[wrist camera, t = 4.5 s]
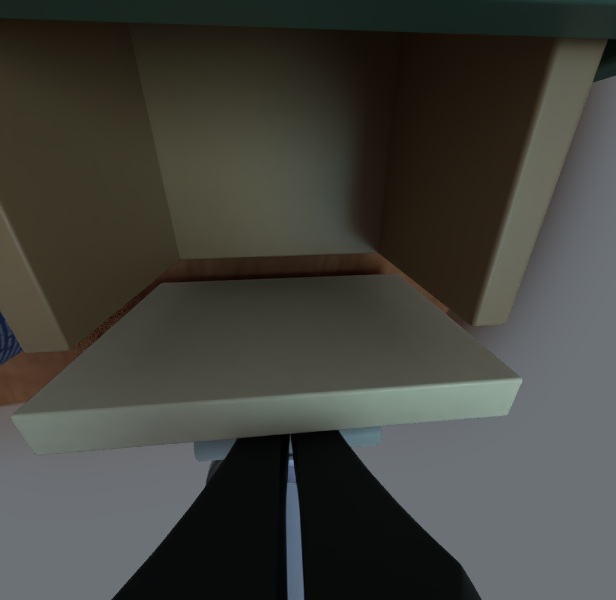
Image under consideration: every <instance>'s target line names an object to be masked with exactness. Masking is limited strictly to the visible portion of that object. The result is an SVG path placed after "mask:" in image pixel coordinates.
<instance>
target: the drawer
mask: <svg viewBox="0 0 616 600" xmlns="http://www.w3.org/2000/svg"><path fill="white" fill-rule="evenodd" d="M607 40H608V39H598V38H569V37H539V36H510V35H481V34H452V33H422V32H393V31H364V30H335V29H305V28H276V27H247V26H218V25H188V24H159V23H130V22H101V21H71V20H42V19H13V18H0V311H1V313H2V314H3V316H4V318H5V320H6V321H7V323H8V325H9V327H10V328H11V330H12V332H13V334H14V335H15V337H16V339H17V341H18V343H19V344H20V346H21V348H22V350H23V351H24V352H25V353H39V352H56V351H68V350H70V349H72V348H73V347H74V346H75V345H77V344H78V343H79V342H80V341H81V340H83V339H84V338H85V337H86V336H88V335H89V334H90V333H91V332H92V331H94V330H95V329H96V328H97V327H99V326H100V325H101V324H102V323H103V322H105V321H106V320H107V319H108V318H110V317H111V316H112V315H113V314H114V313H116V312H117V311H118V310H119V309H121V308H122V307H123V306H124V305H125V304H127V303H128V302H129V301H130V300H132V299H133V298H134V297H135V296H136V295H138V294H139V293H140V292H141V291H143V290H144V289H145V288H146V287H147V286H149V285H150V284H151V283H152V282H153V281H155V280H156V279H157V278H158V277H160V276H161V275H162V274H163V273H164V272H166V271H167V270H168V269H169V268H171V267H172V266H173V265H174V264H175V263H177V262H178V261H179V260H182V259H213V258H243V257H273V256H304V255H334V254H365V253H379V254H381V255H382V256H383V257H384V258H386V259H387V260H388V261H390V262H391V263H392V264H393V265H395V266H396V267H397V268H398V269H400V270H401V271H402V272H403V273H405V274H406V275H407V276H409V277H410V278H411V279H412V280H414V281H415V282H416V283H417V284H419V285H420V286H421V287H422V288H424V289H425V290H426V291H428V292H429V293H430V294H431V295H433V296H434V297H435V298H436V299H438V300H439V301H440V302H441V303H443V304H444V305H445V306H447V307H448V308H449V309H450V310H452V311H453V312H454V313H455V314H457V315H458V316H459V317H461V318H462V319H463V320H464V321H466V322H467V323H468V324H470V325H471V326H474V327H480V326H497V325H504V324H506V322H507V320H508V317H509V314H510V311H511V309H512V306H513V303H514V300H515V297H516V295H517V292H518V289H519V286H520V284H521V281H522V278H523V275H524V272H525V269H526V267H527V264H528V261H529V258H530V256H531V253H532V250H533V247H534V245H535V242H536V239H537V236H538V233H539V230H540V228H541V225H542V222H543V219H544V216H545V214H546V211H547V208H548V205H549V203H550V200H551V197H552V194H553V191H554V188H555V186H556V183H557V180H558V177H559V174H560V172H561V169H562V166H563V163H564V161H565V158H566V155H567V152H568V149H569V146H570V144H571V141H572V138H573V135H574V132H575V130H576V127H577V124H578V122H579V119H580V116H581V113H582V110H583V107H584V105H585V102H586V99H587V96H588V93H589V91H590V88H591V85H592V82H593V80H594V77H595V74H596V71H597V68H598V66H599V63H600V60H601V57H602V54H603V52H604V49H605V46H606V43H607ZM521 383H522V378H521V377H520V376H519V375H518V374H516V373H515V372H514V371H513V370H512V369H510V368H509V367H508V366H507V365H506V364H505V363H503V362H502V361H501V360H500V359H498V358H497V357H496V356H495V355H494V354H493V353H491V352H490V351H489V350H488V349H486V348H485V347H484V346H483V345H482V344H481V343H480V342H478V341H477V340H476V339H475V338H474V337H472V336H471V335H470V334H468V333H467V332H466V331H465V330H464V329H463V328H462V327H460V326H459V325H458V324H457V323H456V322H454V321H453V320H452V319H451V318H450V317H448V316H447V315H446V314H445V313H444V312H443V311H441V310H440V309H439V308H438V307H437V306H435V305H434V304H433V303H432V302H431V301H429V300H428V299H427V298H426V297H425V296H424V295H422V294H421V293H420V292H419V291H418V290H416V289H415V288H414V287H413V286H412V285H410V284H409V283H408V282H407V281H406V280H404V279H403V278H402V277H401V276H400V275H398V274H378V275H352V276H327V277H302V278H276V279H251V280H226V281H200V282H175V283H161V284H160V285H158V286H157V287H156V288H155V289H154V290H153V291H152V292H151V293H149V294H148V295H147V296H146V297H145V298H144V299H143V300H142V301H140V302H139V303H138V304H137V305H136V306H135V307H134V308H132V309H131V310H130V311H129V312H128V313H127V314H126V315H125V316H123V317H122V318H121V319H120V320H119V321H118V322H117V323H116V324H114V325H113V326H112V327H111V328H110V329H109V330H108V331H106V332H105V333H104V334H103V335H102V336H101V337H100V338H99V339H97V340H96V341H95V342H94V343H93V344H92V345H91V346H90V347H88V348H87V349H86V350H85V351H84V352H83V353H82V354H81V355H79V356H78V357H77V358H76V359H75V360H74V361H73V362H71V363H70V364H69V365H68V366H67V367H66V368H65V369H64V370H62V371H61V372H60V373H59V374H58V375H57V376H56V377H55V378H53V379H52V380H51V381H50V382H49V383H48V384H47V385H45V386H44V387H43V388H42V389H41V390H40V391H39V392H38V393H36V394H35V395H34V396H33V397H32V398H31V399H30V400H29V401H27V402H26V403H25V404H24V405H23V406H22V407H21V408H19V409H18V410H17V411H16V412H15V413H14V414H13V415H12V416H11V420H12V421H13V423H14V424H15V426H16V427H17V429H18V430H19V432H20V433H21V434H22V436H23V437H24V439H25V440H26V442H27V443H28V445H29V446H30V448H31V449H32V451H33V452H34V454H36V455H47V454H59V453H70V452H81V451H94V450H106V449H117V448H129V447H141V446H152V445H164V444H175V443H187V442H194V453H195V457H196V459H197V460H198V461H209V460H221V459H225V457H226V456H227V454H228V453H229V451H230V449H231V448H232V446H233V444H234V443H235V441H236V439H237V438H246V437H258V436H270V435H281V434H293V433H305V432H317V431H328V430H339V432H340V433H341V435H342V436H343V438H344V439H345V440H346V442H347V443H348V444H349V446H350V447H351V448H352V447H363V446H374V445H379V444H380V442H381V426H387V425H399V424H410V423H421V422H433V421H446V420H457V419H469V418H480V417H492V416H504V415H507V414H508V413H509V410H510V408H511V406H512V403H513V401H514V399H515V396H516V394H517V392H518V390H519V387H520V385H521ZM289 453H293V452H292V444H291V436H290V444H289Z"/></svg>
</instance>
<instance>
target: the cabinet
mask: <svg viewBox="0 0 616 600" xmlns="http://www.w3.org/2000/svg"><path fill="white" fill-rule="evenodd" d="M0 18H13V19H42V20H71V21H101V22H130V23H159V24H188V25H218V26H247V27H276V28H305V29H335V30H364V31H393V32H422V33H452V34H481V35H510V36H539V37H569V38H598V39H608V40H607V43H606V46H605V49H604V52H603V54H602V57H601V60H600V63H599V66H598V68H597V71H596V74H595V77H594V80H593V82H596V81H599V80H602V79H605V78H609V77H612V76H615V75H616V0H0Z"/></svg>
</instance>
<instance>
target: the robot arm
mask: <svg viewBox="0 0 616 600" xmlns="http://www.w3.org/2000/svg"><path fill="white" fill-rule="evenodd" d="M290 436H291V444H292V452H293V456H289V444H290ZM112 600H481V598H480V596H479V594H478V592H477V591H476V589H475V587H474V585H473V584H472V582H471V580H470V579H469V577H468V576H467V574H466V572H465V571H464V569H463V567H462V566H461V564H460V563H459V562H458V561H457V560H456V559H454V557H453V556H451V555H450V554H449V553H448V552H447V551H446V550H445V549H444V548H443V547H442V546H441V545H439V544H438V543H437V542H436V541H435V540H434V539H433V538H432V537H431V536H430V535H429V534H428V533H427V532H426V531H425V530H424V529H423V528H422V527H421V526H420V525H419V524H418V523H417V522H416V521H415V520H414V519H413V518H412V517H411V516H410V515H409V514H408V513H407V512H406V511H405V510H404V509H403V508H402V507H401V506H400V505H399V504H398V503H397V501H396V500H395V499H394V498H393V497H392V496H391V495H390V494H389V493H388V491H387V490H386V489H385V488H384V487H383V486H382V485H381V484H380V482H379V481H378V480H377V479H376V478H375V477H374V476H373V475H372V474H371V472H370V471H369V470H368V469H367V468H366V466H365V465H364V464H363V463H362V461H361V460H360V459H359V458H358V456H357V455H356V454H355V452H354V451H353V450H352V449H351V447H350V446H349V444H348V443H347V442H346V440H345V439H344V438H343V436H342V435H341V433H340V432H339V430H328V431H317V432H305V433H293V434H281V435H270V436H258V437H246V438H237V439H236V441H235V443H234V444H233V446H232V448H231V449H230V451H229V453H228V454H227V456H226V457H225V459H224V460H223V462H222V463H221V465H220V466H219V468H218V469H217V471H216V472H215V474H214V475H213V476H212V478H211V479H210V481H209V482H208V484H207V485H206V486H205V488H204V489H203V491H202V492H201V493H200V495H199V496H198V497H197V499H196V500H195V501H194V503H193V504H192V506H191V507H190V508H189V509H188V511H187V512H186V513H185V514H184V515H183V517H182V518H181V519H180V520H179V522H178V523H177V524H176V525H175V527H174V528H173V529H172V530H171V532H170V533H169V534H168V535H167V537H166V538H165V539H164V540H163V542H162V543H161V544H160V545H159V546H158V548H157V549H156V550H155V551H154V552H153V553H152V555H151V556H150V557H149V558H148V559H147V560H146V562H144V564H143V565H142V566H141V567H140V568H139V569H138V570H137V572H136V573H135V574H134V575H133V576H132V577H131V578H130V579H129V580H128V582H127V583H126V584H125V585H124V586H123V587H122V588H121V590H120V591H119V592H118V593H117V594H116V595H115V596H114V598H113V599H112Z"/></svg>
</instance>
